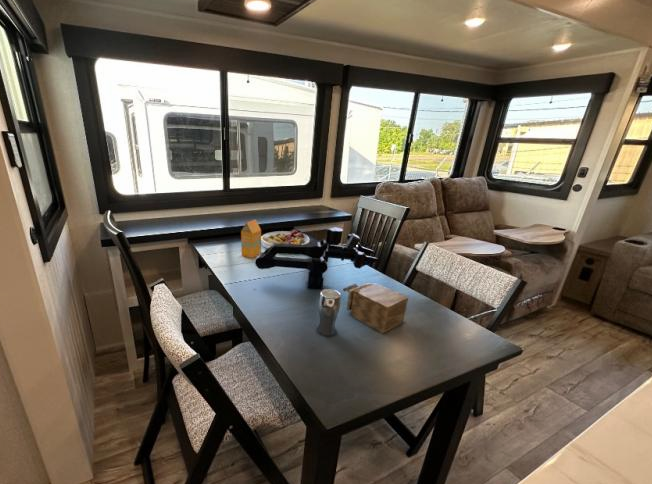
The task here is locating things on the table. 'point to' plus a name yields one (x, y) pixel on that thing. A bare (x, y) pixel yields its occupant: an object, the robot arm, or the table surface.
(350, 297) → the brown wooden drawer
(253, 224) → the orange juice
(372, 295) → the wooden box
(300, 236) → the bowl
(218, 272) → the table surface
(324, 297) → the beer glass
